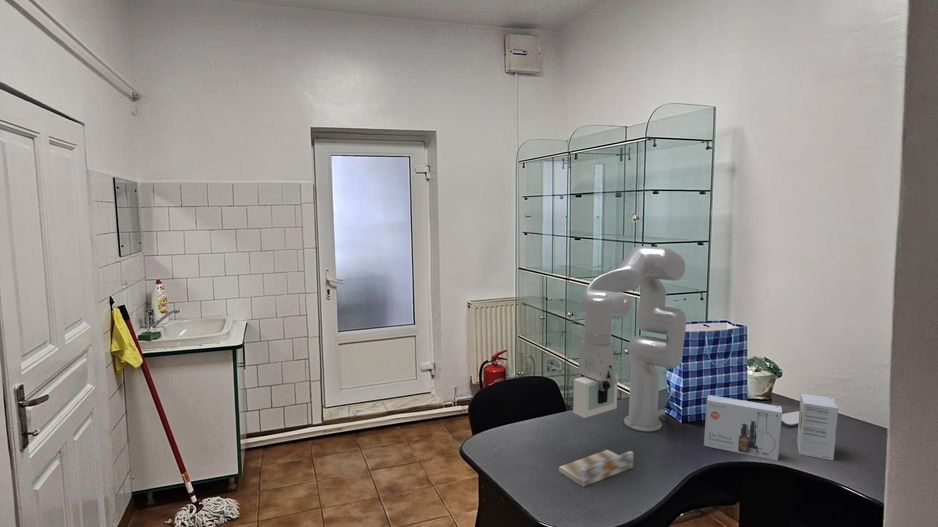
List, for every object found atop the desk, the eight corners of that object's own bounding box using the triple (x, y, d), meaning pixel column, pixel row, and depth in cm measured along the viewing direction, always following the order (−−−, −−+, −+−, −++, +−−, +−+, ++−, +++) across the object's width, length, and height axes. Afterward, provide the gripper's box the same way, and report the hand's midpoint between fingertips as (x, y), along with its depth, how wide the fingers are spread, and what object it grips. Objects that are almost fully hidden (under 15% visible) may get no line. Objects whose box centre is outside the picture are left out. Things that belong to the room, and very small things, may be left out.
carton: (573, 412, 160) (574, 379, 159) (605, 403, 167) (606, 371, 166) (584, 418, 156) (585, 383, 155) (617, 408, 163) (618, 375, 162)
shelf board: (607, 454, 173) (607, 439, 172) (633, 468, 164) (634, 452, 163) (559, 471, 162) (559, 456, 161) (584, 487, 153) (584, 471, 153)
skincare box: (703, 447, 178) (706, 399, 176) (704, 440, 182) (707, 393, 180) (778, 462, 168) (782, 411, 166) (778, 454, 173) (782, 405, 171)
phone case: (798, 414, 205) (767, 420, 199) (799, 410, 205) (767, 415, 199) (821, 423, 197) (789, 430, 191) (822, 419, 197) (790, 425, 191)
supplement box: (796, 442, 181) (800, 392, 179) (829, 448, 177) (834, 397, 175) (798, 454, 172) (803, 402, 170) (834, 461, 168) (838, 407, 166)
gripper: (567, 334, 164) (566, 393, 166) (610, 347, 150) (608, 412, 152) (585, 330, 168) (584, 388, 170) (629, 343, 154) (627, 406, 156)
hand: (595, 399), depth 161 cm, fingers closed on carton, 4 cm apart
